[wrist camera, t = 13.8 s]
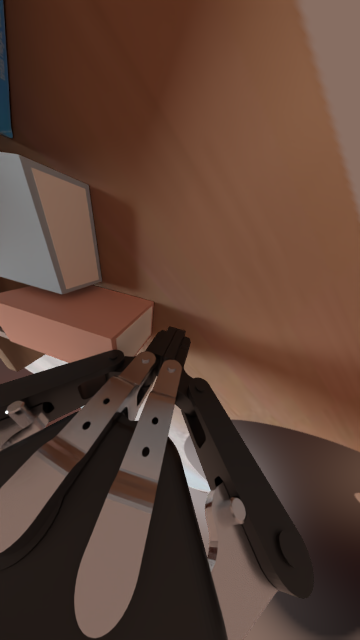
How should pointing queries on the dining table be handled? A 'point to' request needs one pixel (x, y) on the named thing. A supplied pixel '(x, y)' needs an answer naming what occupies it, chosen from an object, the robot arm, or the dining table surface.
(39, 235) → the flat book
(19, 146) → the dining table surface
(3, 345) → the shelf wall
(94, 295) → the boxed book
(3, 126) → the ink box
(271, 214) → the dining table surface
